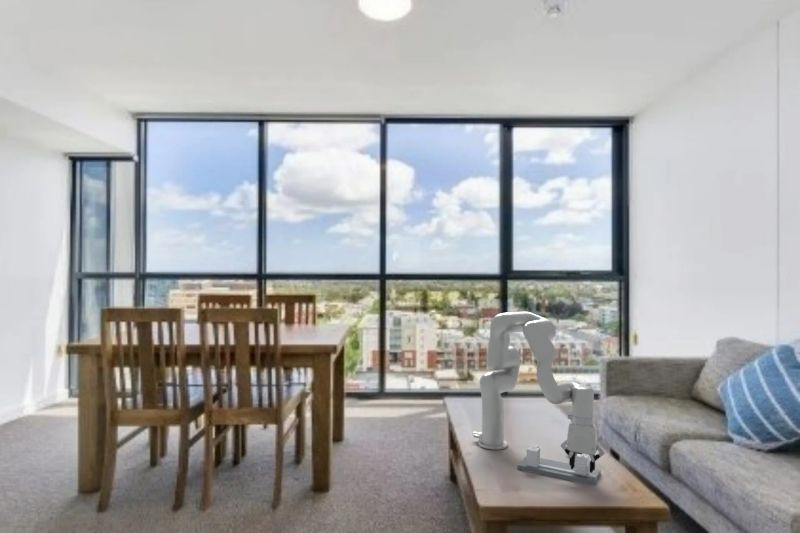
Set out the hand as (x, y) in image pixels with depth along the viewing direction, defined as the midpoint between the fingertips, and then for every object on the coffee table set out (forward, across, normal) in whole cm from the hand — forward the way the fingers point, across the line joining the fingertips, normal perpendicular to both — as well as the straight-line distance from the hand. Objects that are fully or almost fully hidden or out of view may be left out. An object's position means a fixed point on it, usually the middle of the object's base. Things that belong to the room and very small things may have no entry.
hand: (582, 469), depth 189 cm
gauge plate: (+4, -9, +2) cm, 10 cm away
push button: (+4, -8, +22) cm, 23 cm away
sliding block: (+2, 0, +2) cm, 2 cm away
